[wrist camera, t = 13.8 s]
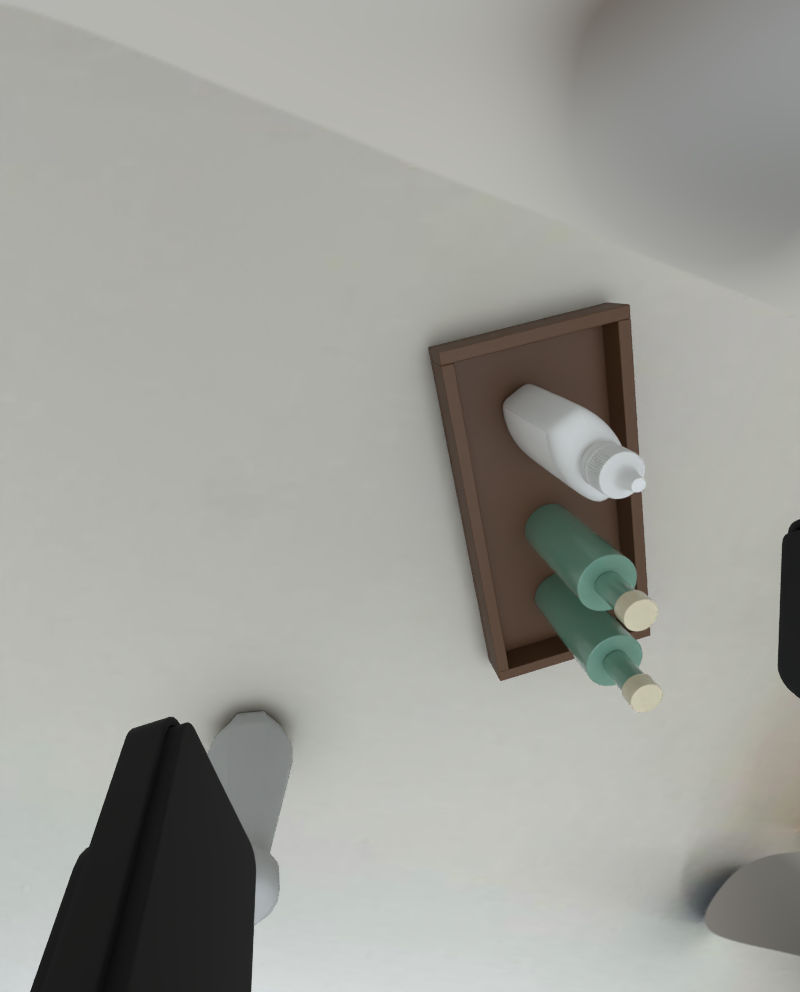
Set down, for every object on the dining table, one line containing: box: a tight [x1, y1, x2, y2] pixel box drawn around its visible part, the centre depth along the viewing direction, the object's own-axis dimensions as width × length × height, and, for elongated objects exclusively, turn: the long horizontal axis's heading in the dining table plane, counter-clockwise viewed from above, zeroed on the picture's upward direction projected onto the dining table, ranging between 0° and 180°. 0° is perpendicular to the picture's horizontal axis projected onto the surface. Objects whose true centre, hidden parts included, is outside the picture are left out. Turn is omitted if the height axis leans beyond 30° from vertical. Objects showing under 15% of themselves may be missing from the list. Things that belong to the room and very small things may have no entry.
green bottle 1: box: [525, 504, 658, 631], centre depth 35 cm, size 4×4×11 cm
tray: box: [429, 303, 650, 681], centre depth 39 cm, size 24×12×3 cm, turn 11°
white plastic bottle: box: [503, 384, 646, 501], centre depth 32 cm, size 4×6×12 cm
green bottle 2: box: [535, 574, 663, 713], centre depth 37 cm, size 4×4×11 cm
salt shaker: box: [207, 711, 293, 925], centre depth 37 cm, size 6×6×13 cm
